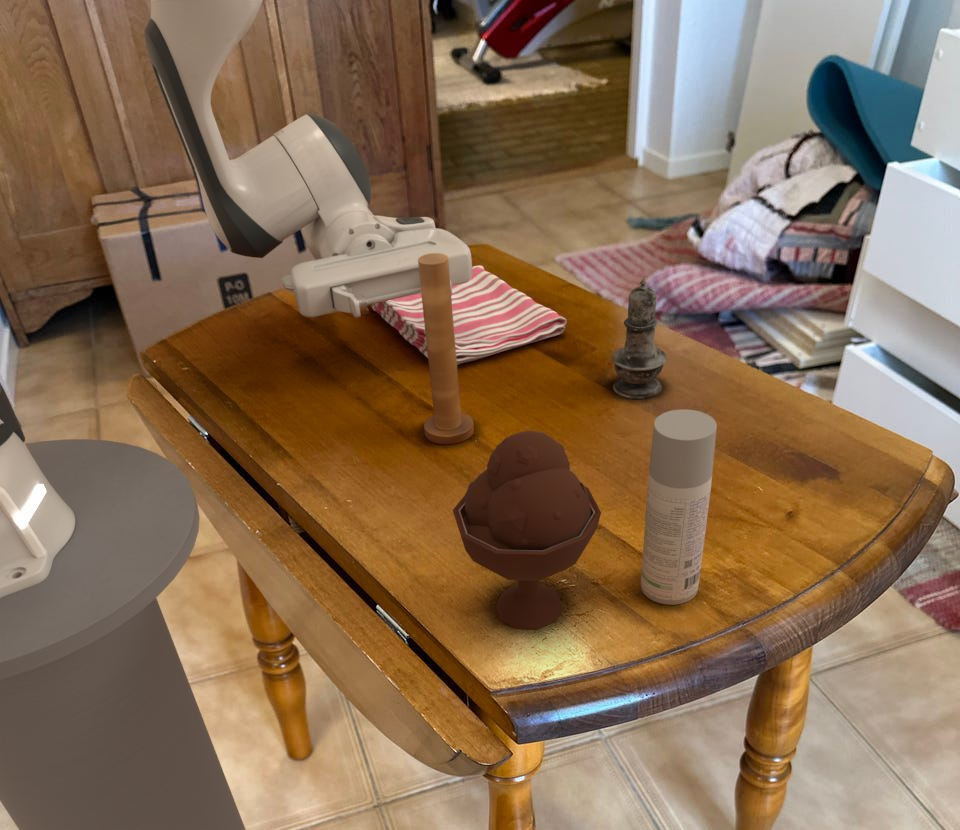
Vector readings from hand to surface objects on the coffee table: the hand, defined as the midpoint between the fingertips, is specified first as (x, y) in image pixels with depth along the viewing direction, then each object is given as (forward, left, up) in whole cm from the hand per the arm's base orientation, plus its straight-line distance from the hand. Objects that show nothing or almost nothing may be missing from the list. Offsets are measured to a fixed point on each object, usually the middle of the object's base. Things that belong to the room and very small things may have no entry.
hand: (404, 299), depth 98 cm
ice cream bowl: (-19, -36, -11) cm, 42 cm away
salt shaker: (+16, -19, -11) cm, 27 cm away
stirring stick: (-4, -10, -10) cm, 15 cm away
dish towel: (+16, +9, -11) cm, 21 cm away
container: (-9, -43, -11) cm, 45 cm away
